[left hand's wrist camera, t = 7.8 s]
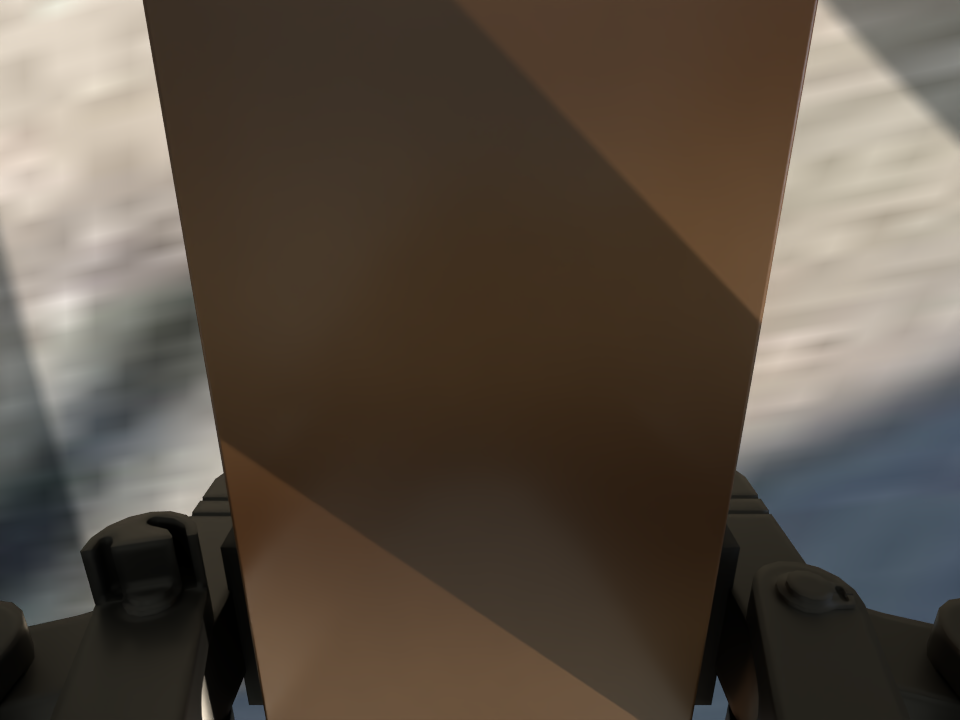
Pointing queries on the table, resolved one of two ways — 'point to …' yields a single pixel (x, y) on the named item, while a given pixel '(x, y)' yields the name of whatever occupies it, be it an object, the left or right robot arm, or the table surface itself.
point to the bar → (479, 332)
